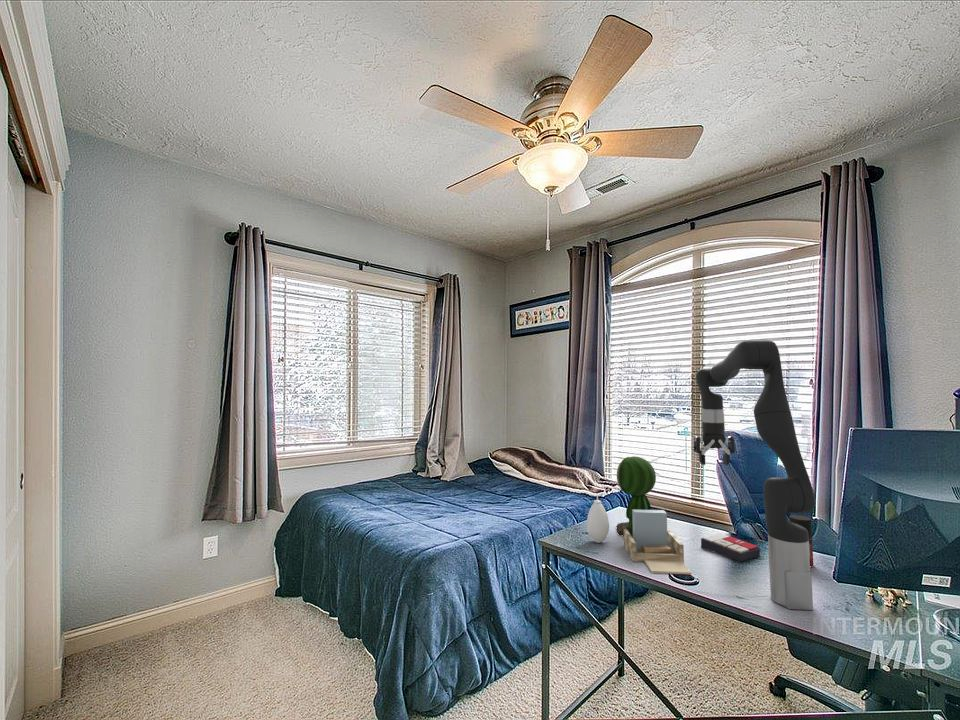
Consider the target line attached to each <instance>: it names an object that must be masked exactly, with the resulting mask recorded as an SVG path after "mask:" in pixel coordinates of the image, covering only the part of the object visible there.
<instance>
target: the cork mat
mask: <svg viewBox="0 0 960 720" xmlns="http://www.w3.org/2000/svg"><path fill="white" fill-rule="evenodd" d="M643 563H645V565H646V567H647V568H648V570H649V571H650V573H651V574H672V575H673V574H674V575H691V574H692V571H691V570H690V569H689V567H687V565H686V564H685V562H684V563H683V562H682V561H660V560H644V562H643Z"/></svg>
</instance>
